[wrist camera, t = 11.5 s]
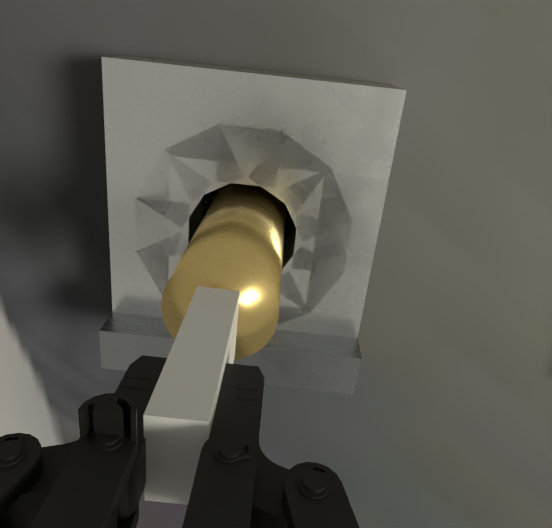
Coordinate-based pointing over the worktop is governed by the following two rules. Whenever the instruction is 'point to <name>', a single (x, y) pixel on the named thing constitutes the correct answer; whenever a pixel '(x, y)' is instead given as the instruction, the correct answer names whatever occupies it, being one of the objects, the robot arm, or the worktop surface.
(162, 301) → the gold brass cylinder
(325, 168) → the jig
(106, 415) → the robot arm
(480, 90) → the worktop surface
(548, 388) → the worktop surface
